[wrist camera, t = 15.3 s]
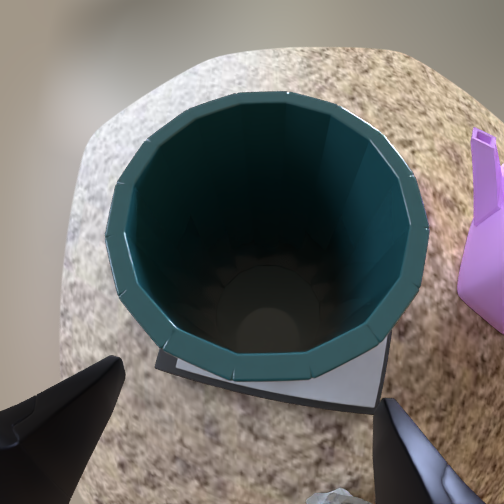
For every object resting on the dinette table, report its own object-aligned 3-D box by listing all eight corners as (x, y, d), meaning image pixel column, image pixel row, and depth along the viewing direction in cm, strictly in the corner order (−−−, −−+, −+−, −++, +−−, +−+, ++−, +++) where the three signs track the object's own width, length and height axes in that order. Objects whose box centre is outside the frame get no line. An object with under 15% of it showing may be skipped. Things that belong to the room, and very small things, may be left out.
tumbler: (269, 398, 16) (272, 460, 4) (187, 317, 18) (60, 214, 6) (348, 313, 18) (470, 202, 6) (266, 241, 20) (260, 62, 8)
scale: (164, 369, 20) (150, 367, 17) (235, 139, 27) (232, 118, 24) (367, 412, 18) (380, 416, 16) (391, 169, 25) (401, 150, 22)
